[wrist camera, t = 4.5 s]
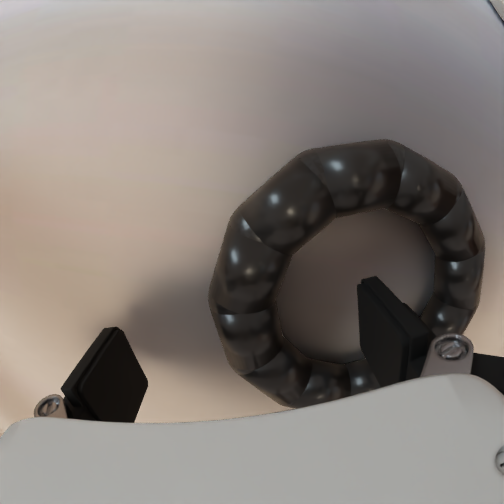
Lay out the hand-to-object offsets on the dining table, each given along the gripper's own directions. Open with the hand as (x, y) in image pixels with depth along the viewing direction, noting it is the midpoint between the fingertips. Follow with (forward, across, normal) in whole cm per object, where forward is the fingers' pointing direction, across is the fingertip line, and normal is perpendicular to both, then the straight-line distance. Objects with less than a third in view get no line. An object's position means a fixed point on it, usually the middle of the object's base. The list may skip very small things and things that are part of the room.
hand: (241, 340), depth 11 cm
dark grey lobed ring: (+1, -5, 0) cm, 5 cm away
